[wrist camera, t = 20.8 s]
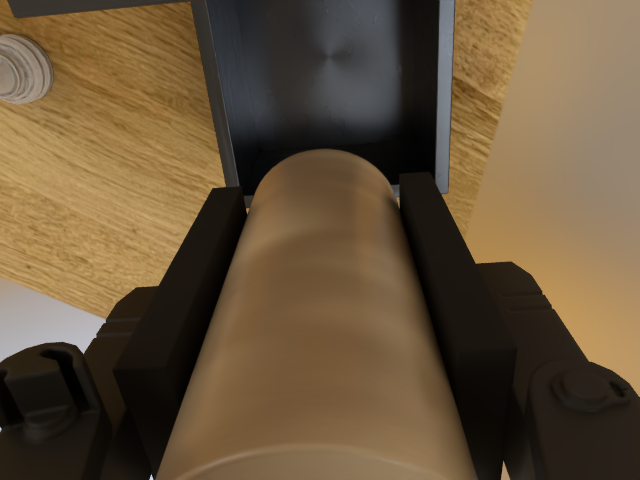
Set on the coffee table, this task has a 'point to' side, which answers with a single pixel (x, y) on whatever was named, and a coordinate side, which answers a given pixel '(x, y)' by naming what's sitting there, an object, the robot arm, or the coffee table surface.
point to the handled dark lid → (75, 6)
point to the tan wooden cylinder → (320, 344)
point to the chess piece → (23, 70)
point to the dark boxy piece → (329, 83)
